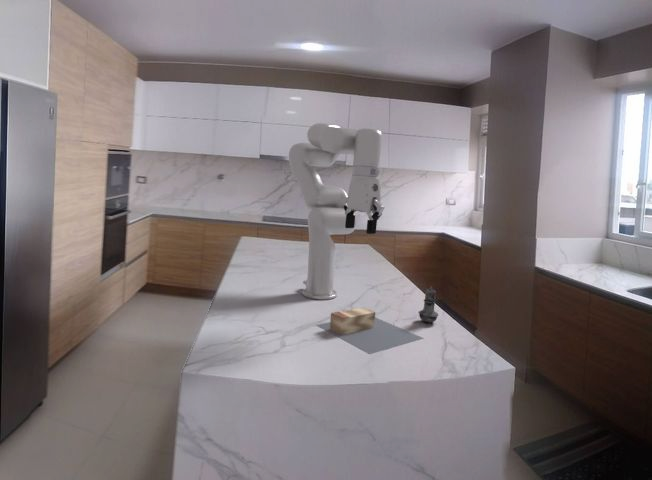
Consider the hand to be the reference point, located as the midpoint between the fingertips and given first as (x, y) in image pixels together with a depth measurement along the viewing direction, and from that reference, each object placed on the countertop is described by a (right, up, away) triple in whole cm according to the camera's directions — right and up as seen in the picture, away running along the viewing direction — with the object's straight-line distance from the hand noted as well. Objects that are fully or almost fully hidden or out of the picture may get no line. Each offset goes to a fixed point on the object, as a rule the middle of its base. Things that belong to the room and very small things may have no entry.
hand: (360, 230), depth 122 cm
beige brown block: (-3, -27, -8) cm, 29 cm away
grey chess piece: (+20, -29, +1) cm, 35 cm away
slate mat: (+2, -29, -9) cm, 30 cm away
